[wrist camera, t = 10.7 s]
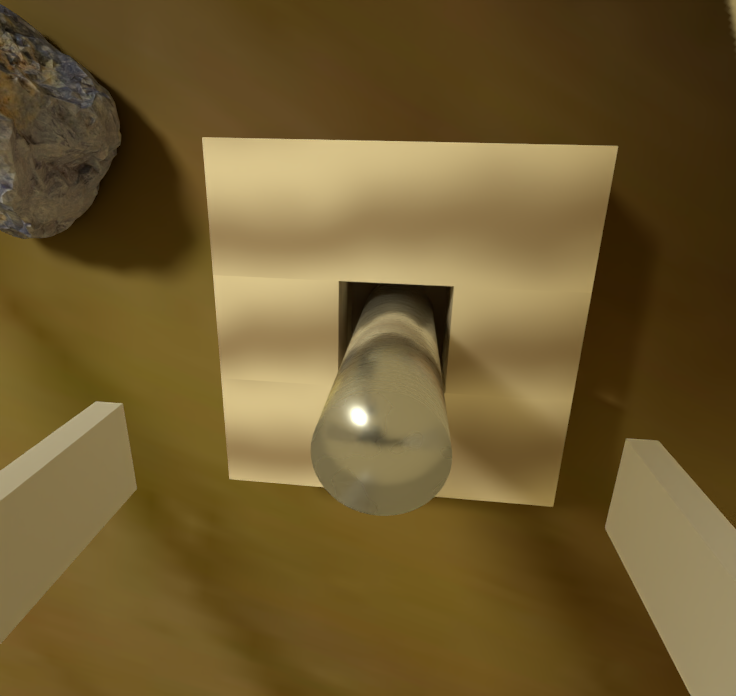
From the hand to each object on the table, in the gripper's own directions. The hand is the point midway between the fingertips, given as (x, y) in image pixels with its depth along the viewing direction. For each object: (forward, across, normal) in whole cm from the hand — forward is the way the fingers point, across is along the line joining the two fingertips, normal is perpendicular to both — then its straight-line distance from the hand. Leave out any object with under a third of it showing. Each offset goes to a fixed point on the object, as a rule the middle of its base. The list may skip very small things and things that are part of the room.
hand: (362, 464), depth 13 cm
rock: (+18, -21, +8) cm, 29 cm away
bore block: (+18, 0, -1) cm, 18 cm away
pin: (+17, 0, -1) cm, 17 cm away
